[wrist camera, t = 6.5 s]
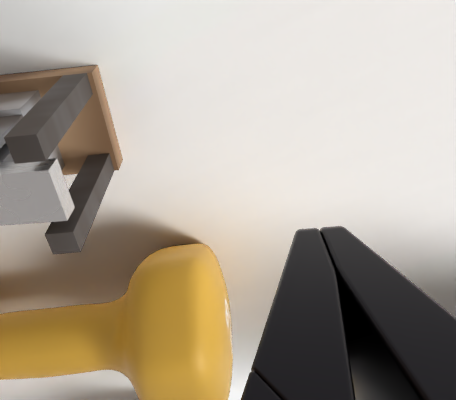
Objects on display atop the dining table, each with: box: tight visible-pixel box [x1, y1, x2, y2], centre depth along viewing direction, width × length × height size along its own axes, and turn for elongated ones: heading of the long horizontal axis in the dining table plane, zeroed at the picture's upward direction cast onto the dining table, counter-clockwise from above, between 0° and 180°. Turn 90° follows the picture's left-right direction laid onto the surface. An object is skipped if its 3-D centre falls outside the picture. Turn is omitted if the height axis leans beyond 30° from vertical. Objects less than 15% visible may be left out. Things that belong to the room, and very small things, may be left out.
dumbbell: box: [0, 244, 233, 400], centre depth 23 cm, size 19×9×8 cm, turn 97°
